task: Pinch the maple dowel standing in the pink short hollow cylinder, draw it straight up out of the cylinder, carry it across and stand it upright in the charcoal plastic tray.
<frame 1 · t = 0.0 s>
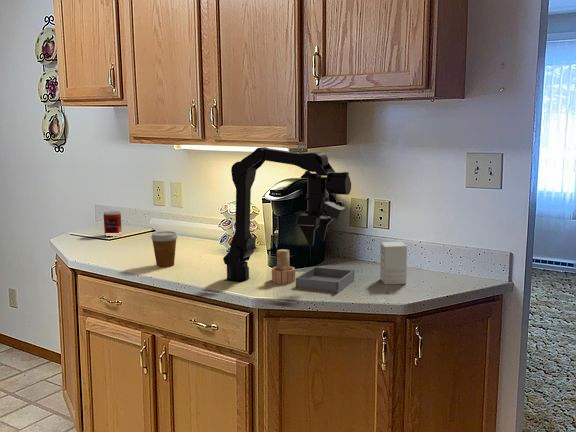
hand: (316, 243, 192), 15 cm above the worktop, fingers open, 9 cm apart
pink short hollow cylinder: (283, 281, 203), on the worktop
canned food: (113, 236, 287), on the worktop
dowel: (283, 280, 203), resting on pink short hollow cylinder
supplement box: (392, 282, 203), on the worktop
disposable coffee cup: (165, 265, 228), on the worktop
tray: (325, 284, 199), on the worktop
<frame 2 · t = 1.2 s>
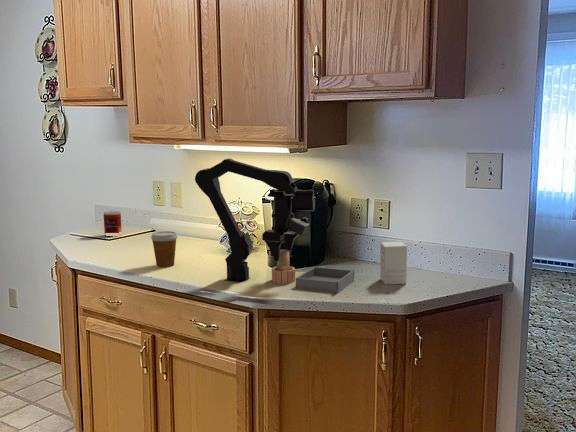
hand: (282, 257, 202), 8 cm above the worktop, fingers open, 9 cm apart
nothing on the worktop moved.
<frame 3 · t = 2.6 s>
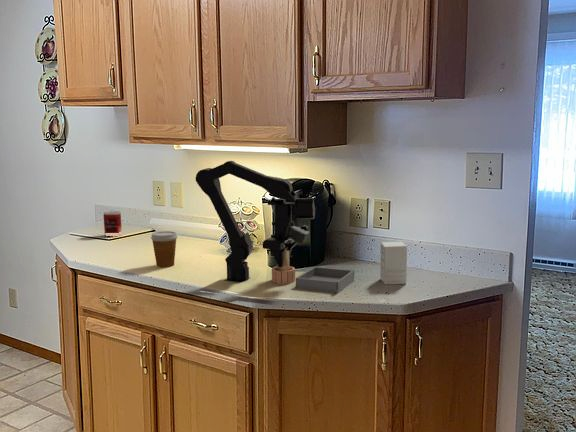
hand: (283, 265, 202), 6 cm above the worktop, fingers closed on dowel, 4 cm apart
dowel: (283, 280, 203), resting on pink short hollow cylinder, touching gripper
everything else where it was.
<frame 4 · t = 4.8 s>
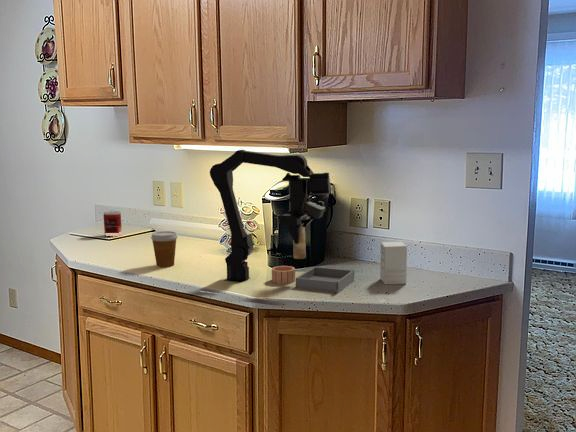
hand: (299, 242, 200), 13 cm above the worktop, fingers closed on dowel, 4 cm apart
dowel: (299, 257, 201), point 8 cm above the worktop, touching gripper
everything else where it was.
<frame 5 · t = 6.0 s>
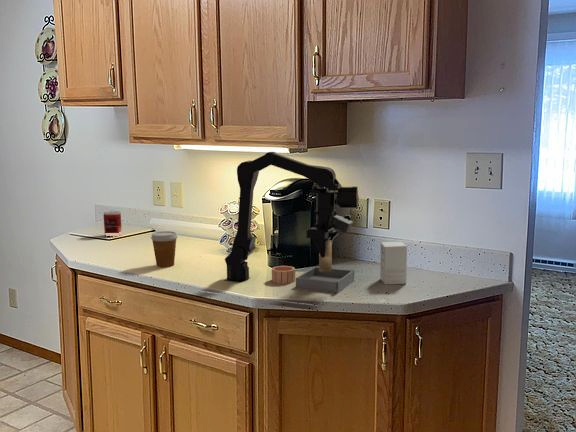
hand: (325, 255, 198), 10 cm above the worktop, fingers closed on dowel, 4 cm apart
dowel: (325, 270, 199), point 5 cm above the worktop, touching gripper
everything else where it was.
when the fingers open (7 cm above the worktop, at t = 7.1 s): dowel drops 1 cm, resting on tray.
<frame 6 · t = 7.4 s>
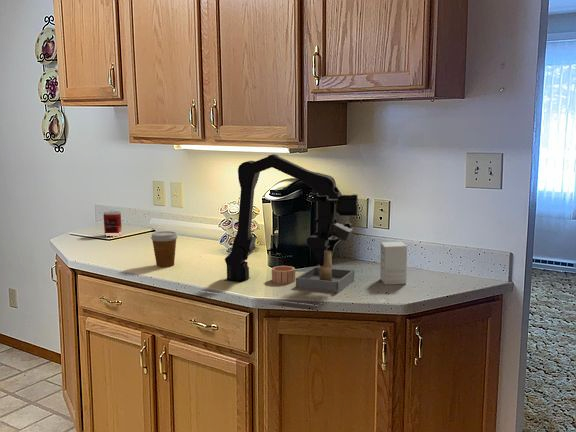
hand: (325, 263, 198), 7 cm above the worktop, fingers open, 7 cm apart
dowel: (325, 281, 199), point 1 cm above the worktop, touching tray
everything else where it was.
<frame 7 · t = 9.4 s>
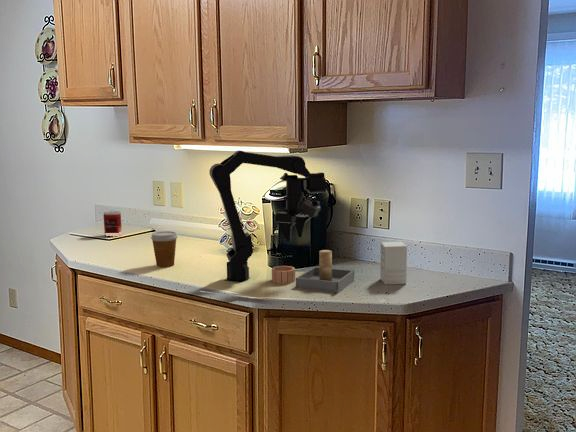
hand: (294, 239, 208), 13 cm above the worktop, fingers open, 9 cm apart
nothing on the worktop moved.
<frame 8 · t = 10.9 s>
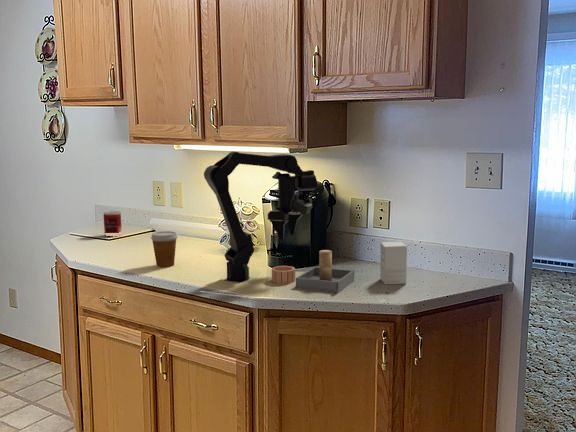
hand: (287, 237, 211), 13 cm above the worktop, fingers open, 9 cm apart
nothing on the worktop moved.
at the end: dowel inside the target area on the tray (0.0 cm from its centre), point 1.0 cm above the tray's base; the gripper is holding nothing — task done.
